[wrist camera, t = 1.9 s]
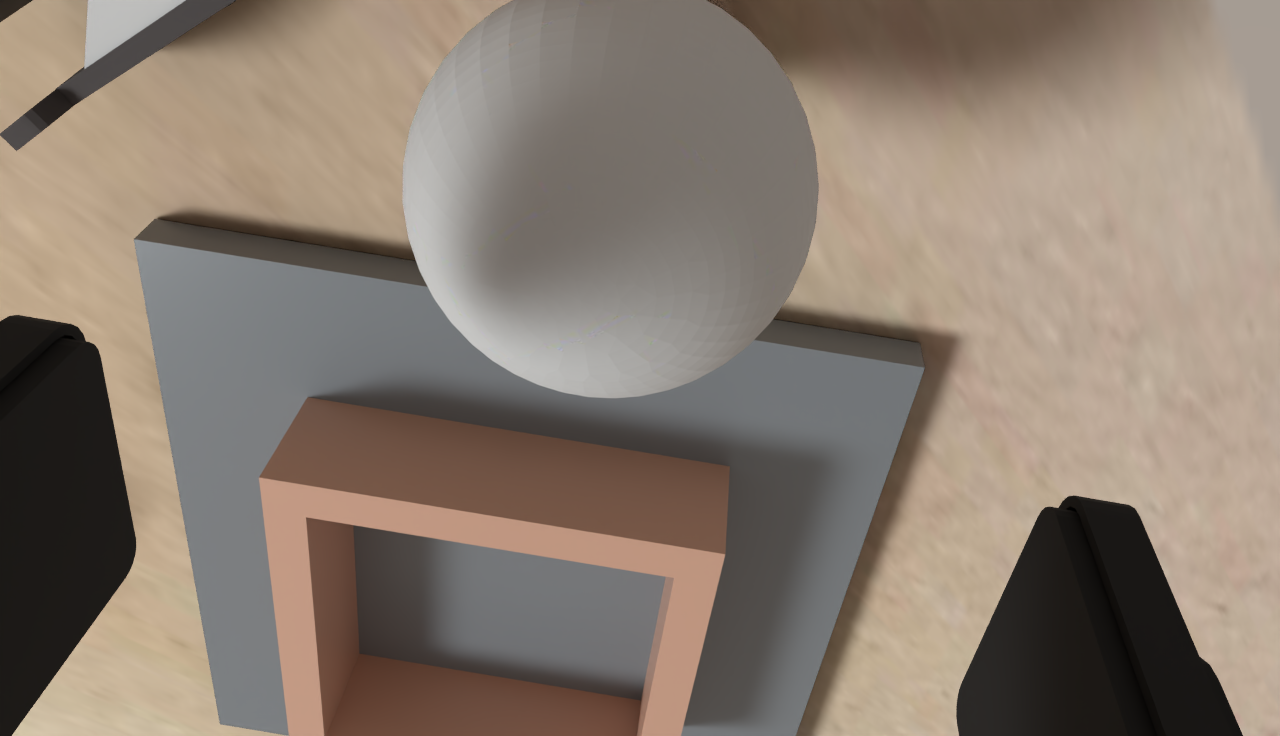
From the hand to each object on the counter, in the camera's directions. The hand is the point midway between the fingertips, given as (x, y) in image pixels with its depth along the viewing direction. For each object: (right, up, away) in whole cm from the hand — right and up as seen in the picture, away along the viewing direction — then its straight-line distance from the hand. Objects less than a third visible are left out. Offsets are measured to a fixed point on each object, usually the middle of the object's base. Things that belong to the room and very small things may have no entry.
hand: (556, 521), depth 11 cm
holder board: (-3, -4, +19) cm, 20 cm away
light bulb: (+1, +8, +10) cm, 13 cm away
